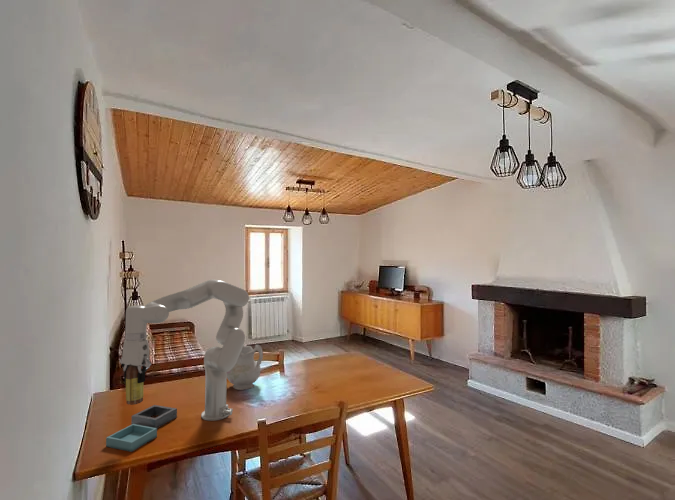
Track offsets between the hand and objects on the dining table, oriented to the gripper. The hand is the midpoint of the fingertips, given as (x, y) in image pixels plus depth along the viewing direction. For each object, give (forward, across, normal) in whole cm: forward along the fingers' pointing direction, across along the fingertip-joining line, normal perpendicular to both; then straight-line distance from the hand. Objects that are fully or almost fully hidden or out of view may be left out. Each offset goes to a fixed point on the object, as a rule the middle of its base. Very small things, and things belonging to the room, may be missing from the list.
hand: (134, 380), depth 152 cm
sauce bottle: (+9, 0, 0) cm, 9 cm away
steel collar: (+24, +6, -17) cm, 30 cm away
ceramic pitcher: (+24, -8, -70) cm, 75 cm away
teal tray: (+24, 0, +1) cm, 24 cm away
